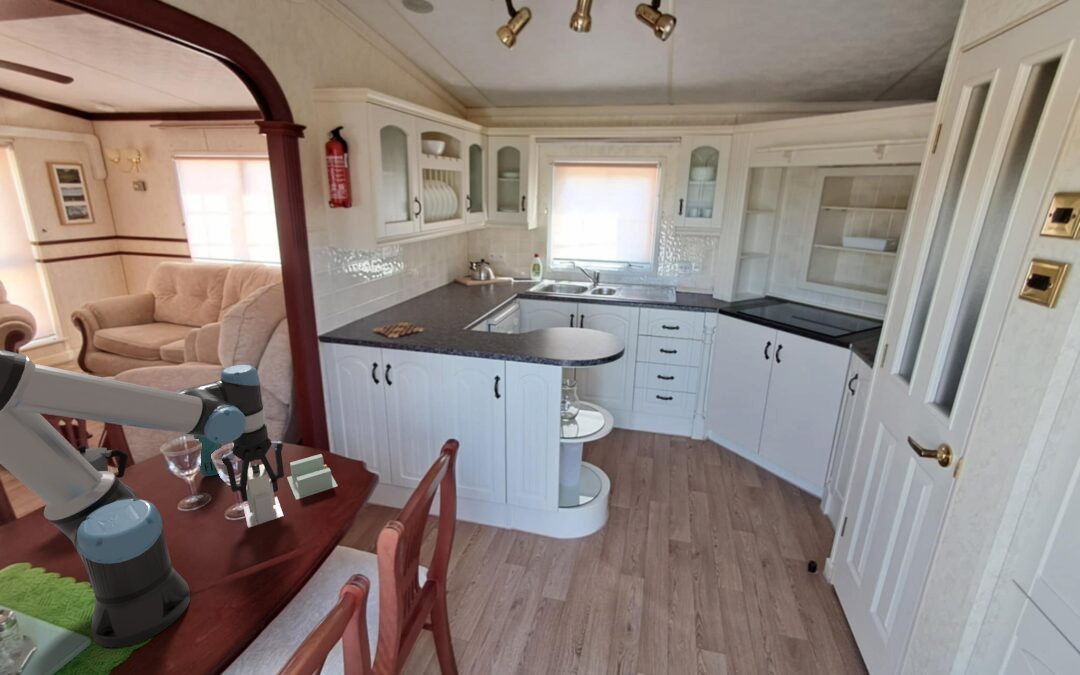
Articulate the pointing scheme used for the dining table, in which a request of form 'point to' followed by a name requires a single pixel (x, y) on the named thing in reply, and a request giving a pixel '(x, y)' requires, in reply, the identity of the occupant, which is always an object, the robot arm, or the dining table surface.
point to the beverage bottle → (207, 455)
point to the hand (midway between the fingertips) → (262, 505)
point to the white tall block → (258, 485)
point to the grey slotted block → (263, 510)
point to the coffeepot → (104, 458)
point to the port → (310, 476)
